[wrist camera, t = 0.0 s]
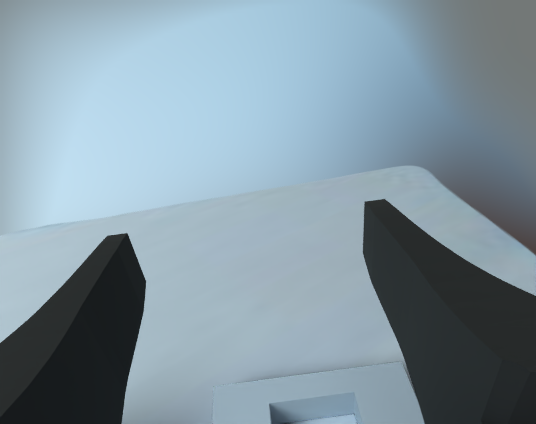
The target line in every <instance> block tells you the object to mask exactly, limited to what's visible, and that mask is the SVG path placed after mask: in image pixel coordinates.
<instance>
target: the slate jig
mask: <svg viewBox="0 0 536 424" xmlns="http://www.w3.org/2000/svg"><path fill="white" fill-rule="evenodd" d="M349 414H355V418H356V421H357V424H425V423H424V420H423V416H422V413H421V410H420V406H419V403H418V400H417V398H416V395H415V393H414V391H413V388H412V386H411V383H410V381H409V379H408V376H407V374H406V371H405V369H404V367H403V364H402V362H401V361H399V362H392V363H384V364H377V365H369V366H362V367H354V368H347V369H339V370H332V371H324V372H317V373H309V374H302V375H295V376H287V377H280V378H272V379H265V380H257V381H250V382H242V383H235V384H227V385H220V386H213V406H212V424H281V423H289V422H296V421H304V420H311V419H319V418H326V417H334V416H341V415H349Z"/></svg>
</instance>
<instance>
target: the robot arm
mask: <svg viewBox="0 0 536 424" xmlns="http://www.w3.org/2000/svg"><path fill="white" fill-rule="evenodd" d="M363 255H364V258H365V262H366V265H367V269H368V272H369V275H370V279H371V282H372V284H373V287H374V289H375V291H376V293H377V296H378V298H379V300H380V303H381V305H382V307H383V309H384V312H385V314H386V316H387V318H388V321H389V323H390V325H391V327H392V330H393V332H394V334H395V336H396V339H397V341H398V343H399V346H400V348H401V351H402V353H403V356H404V359H405V362H406V365H407V368H408V371H409V374H410V378H411V381H412V384H413V387H414V390H415V393H416V397H417V400H418V403H419V406H420V410H421V413H422V416H423V420H424V423H425V424H536V296H535V295H532V294H530V293H528V292H526V291H523V290H521V289H519V288H517V287H515V286H513V285H511V284H509V283H507V282H505V281H502V280H501V279H499V278H497V277H495V276H493V275H491V274H489V273H487V272H486V271H484V270H482V269H480V268H479V267H477V266H475V265H473V264H471V263H470V262H468V261H466V260H465V259H463V258H462V257H460V256H459V255H457V254H456V253H454V252H453V251H451V250H450V249H448V248H447V247H445V246H444V245H442V244H441V243H439V242H438V241H437V240H435V239H434V238H432V237H431V236H430V235H428V234H427V233H426V232H425V231H423V230H422V229H421V228H419V227H418V226H417V225H416V224H414V223H413V222H412V221H411V220H409V219H408V218H407V217H406V216H405V215H403V214H402V213H401V212H400V211H399V210H397V209H396V208H395V207H394V206H393V205H391V204H390V203H389V202H388V201H386V200H385V199H382V200H374V201H367V202H365V207H364V237H363ZM145 289H146V280H145V278H144V275H143V272H142V270H141V267H140V265H139V262H138V260H137V257H136V254H135V252H134V249H133V247H132V244H131V241H130V239H129V236H128V234H127V233H125V234H118V235H110V236H107V237H106V238H105V239H104V240H103V241H102V242H101V243H100V244H99V245H98V247H97V248H96V249H95V250H94V251H93V252H92V253H91V255H90V256H89V257H88V258H87V259H86V260H85V261H84V263H83V264H82V265H81V266H80V267H79V268H78V269H77V270H76V271H75V273H74V274H73V275H72V276H71V277H70V278H69V279H68V280H67V281H66V282H65V284H64V285H63V286H62V287H61V288H60V289H59V290H58V291H57V292H56V293H55V294H54V295H53V296H52V297H51V298H50V299H49V300H48V301H47V302H46V303H45V304H44V305H43V306H42V307H41V308H40V309H39V310H38V311H37V312H36V313H35V314H34V315H32V316H31V317H30V318H29V319H28V320H27V321H26V322H25V323H24V324H22V325H21V326H20V327H19V328H18V329H17V330H15V331H14V332H13V333H12V334H11V335H10V336H8V337H7V338H6V339H5V340H3V341H2V342H1V343H0V424H121V423H122V415H123V407H124V399H125V392H126V386H127V381H128V376H129V372H130V368H131V363H132V359H133V355H134V351H135V346H136V342H137V338H138V334H139V329H140V325H141V320H142V316H143V311H144V301H145Z"/></svg>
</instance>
